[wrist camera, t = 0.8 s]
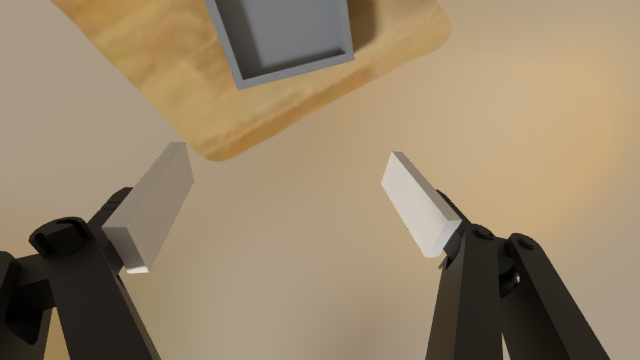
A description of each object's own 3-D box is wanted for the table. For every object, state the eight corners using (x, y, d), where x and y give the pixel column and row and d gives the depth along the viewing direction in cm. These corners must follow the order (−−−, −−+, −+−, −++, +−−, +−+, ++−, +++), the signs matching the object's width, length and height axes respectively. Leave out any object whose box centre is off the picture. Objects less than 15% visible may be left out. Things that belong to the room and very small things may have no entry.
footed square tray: (192, -54, 28) (174, -81, 22) (320, -81, 29) (331, -112, 24) (242, 86, 35) (238, 90, 30) (341, 60, 37) (354, 59, 31)
